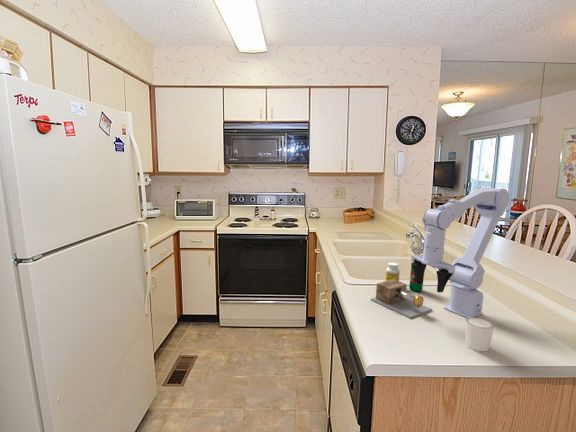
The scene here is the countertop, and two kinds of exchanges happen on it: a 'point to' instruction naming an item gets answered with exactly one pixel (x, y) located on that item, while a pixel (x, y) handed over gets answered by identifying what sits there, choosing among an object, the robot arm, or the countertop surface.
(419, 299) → the shaft
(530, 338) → the countertop surface
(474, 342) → the white cup
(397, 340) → the countertop surface
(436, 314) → the countertop surface
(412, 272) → the soda can
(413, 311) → the base plate
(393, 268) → the supplement bottle
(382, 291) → the bearing block
